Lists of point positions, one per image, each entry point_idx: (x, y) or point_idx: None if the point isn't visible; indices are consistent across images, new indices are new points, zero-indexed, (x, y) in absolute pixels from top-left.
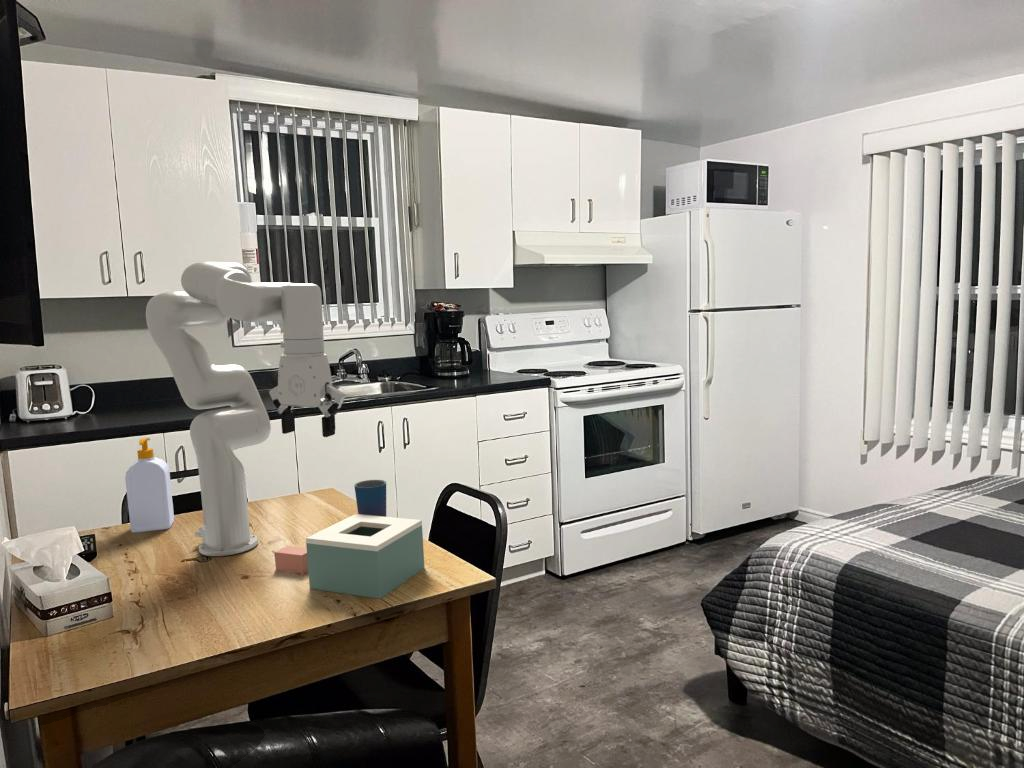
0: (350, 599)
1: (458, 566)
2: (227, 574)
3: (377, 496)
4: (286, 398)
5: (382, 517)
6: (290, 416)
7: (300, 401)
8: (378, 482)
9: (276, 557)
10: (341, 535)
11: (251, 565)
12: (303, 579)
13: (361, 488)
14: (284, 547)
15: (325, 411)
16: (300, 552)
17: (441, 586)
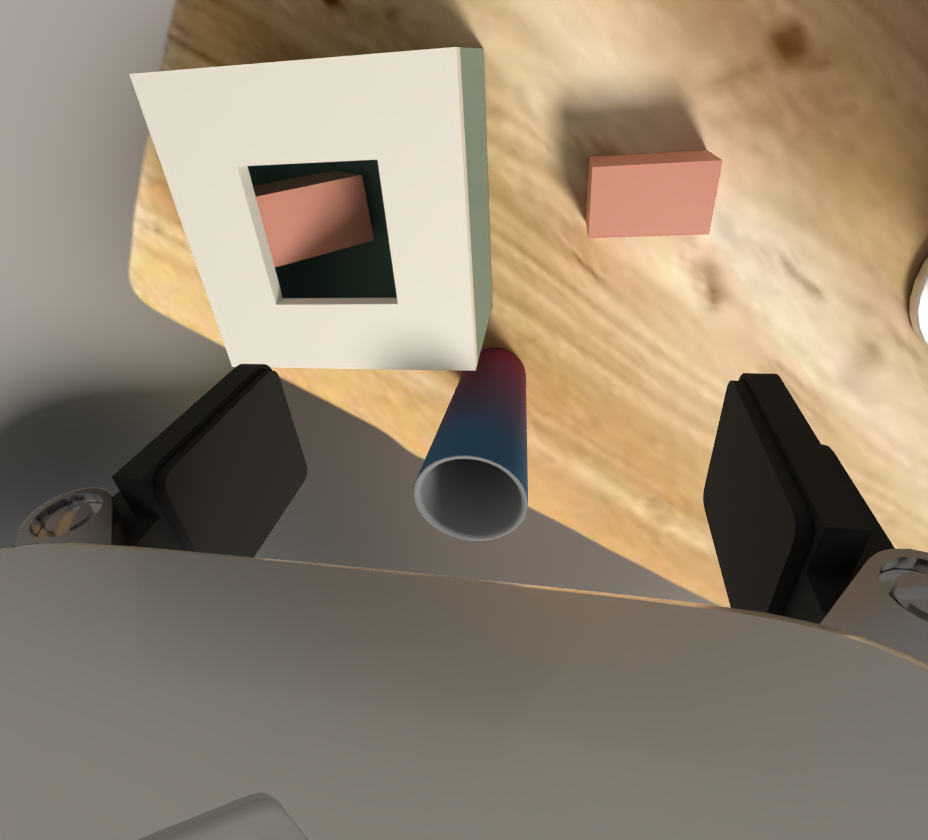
0: (305, 25)
1: None
2: (886, 37)
3: (428, 453)
4: (715, 775)
5: (361, 359)
6: (752, 580)
7: (247, 643)
8: (473, 530)
9: (709, 157)
10: (342, 138)
11: (829, 154)
12: (556, 112)
13: (465, 453)
14: (709, 214)
15: (50, 539)
16: (616, 191)
17: (171, 214)
